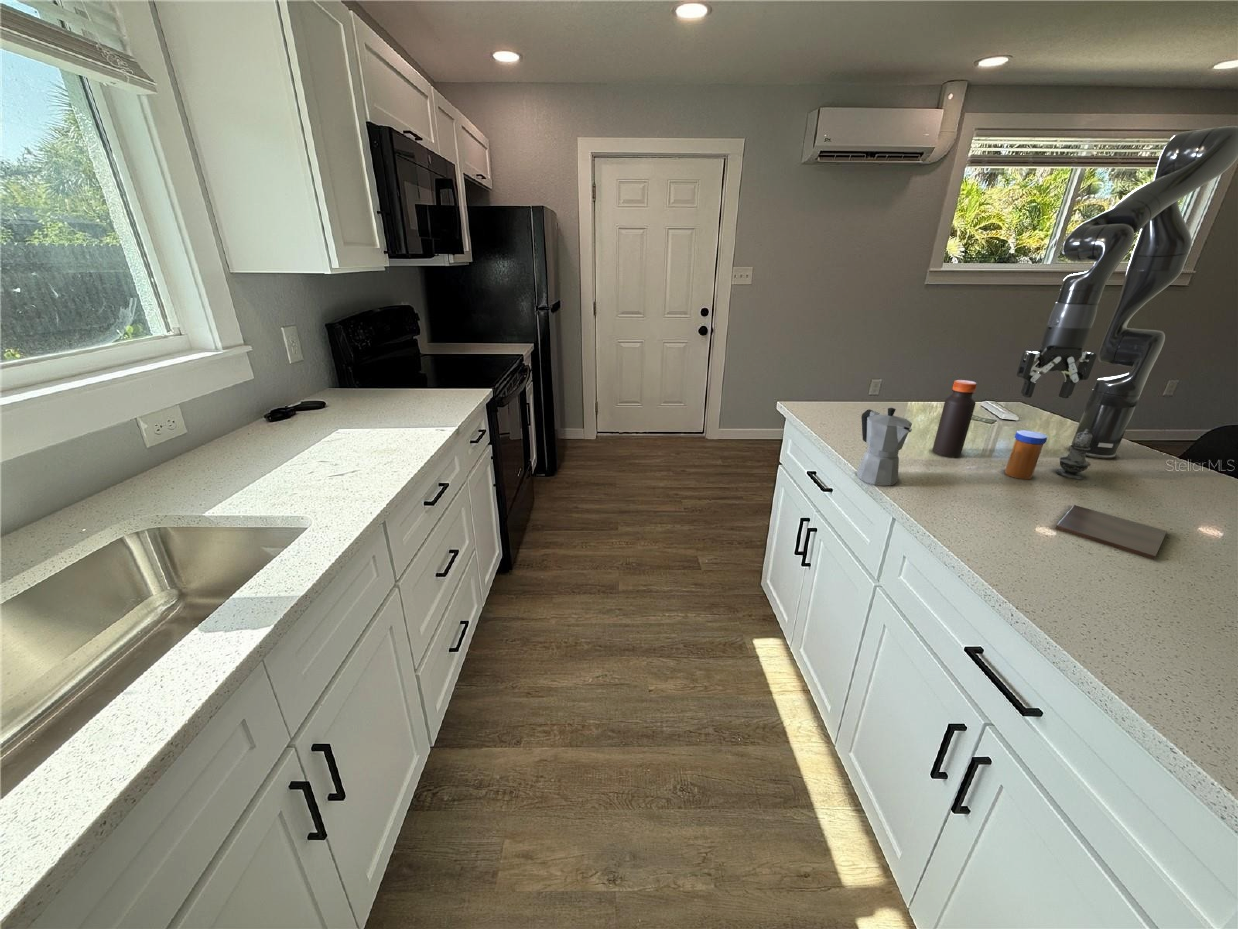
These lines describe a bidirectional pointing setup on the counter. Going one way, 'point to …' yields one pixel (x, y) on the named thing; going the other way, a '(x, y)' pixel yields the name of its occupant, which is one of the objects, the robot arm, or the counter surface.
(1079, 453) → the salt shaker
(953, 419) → the bottle
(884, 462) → the coffeepot
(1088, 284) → the robot arm
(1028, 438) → the lid
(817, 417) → the counter surface
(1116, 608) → the counter surface
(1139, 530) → the board
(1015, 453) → the jar
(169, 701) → the counter surface
